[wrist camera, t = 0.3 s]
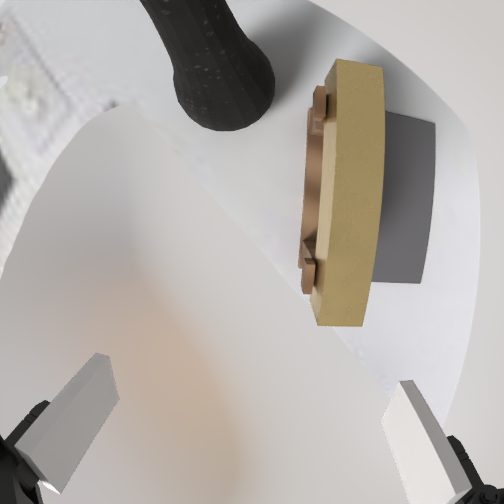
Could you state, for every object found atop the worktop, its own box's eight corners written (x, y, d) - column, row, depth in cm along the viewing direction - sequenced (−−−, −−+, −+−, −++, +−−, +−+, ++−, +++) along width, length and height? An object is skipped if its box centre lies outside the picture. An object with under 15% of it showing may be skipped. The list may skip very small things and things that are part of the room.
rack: (303, 110, 32) (317, 79, 21) (350, 116, 32) (382, 90, 21) (293, 265, 37) (302, 299, 26) (339, 268, 37) (365, 302, 26)
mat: (378, 110, 31) (379, 110, 31) (433, 124, 31) (435, 124, 31) (364, 280, 37) (365, 281, 36) (419, 282, 36) (420, 283, 36)
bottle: (177, 117, 33) (-8, 15, 4) (218, 53, 31) (131, -120, 2) (248, 153, 34) (154, 31, 5) (289, 85, 32) (327, -114, 2)
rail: (324, 80, 23) (336, 58, 18) (363, 86, 23) (382, 67, 18) (309, 300, 28) (317, 325, 23) (347, 301, 28) (362, 326, 23)
